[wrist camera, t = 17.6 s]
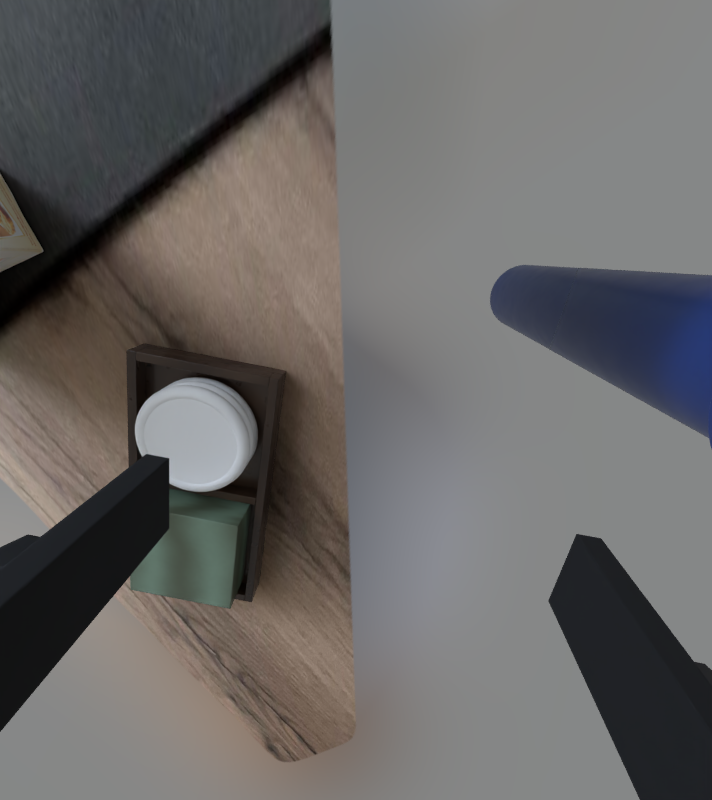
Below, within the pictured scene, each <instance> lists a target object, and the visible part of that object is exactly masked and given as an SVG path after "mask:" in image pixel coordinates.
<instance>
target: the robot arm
mask: <svg viewBox="0 0 712 800" xmlns="http://www.w3.org/2000/svg"><path fill="white" fill-rule="evenodd" d="M168 529H169V458H165V457H160V456H154V455H149V454H146V455H144V456H143V457H142V458H140V459H139V460H138V461H137V462H135V463H134V464H133V465H132V466H130V467H129V468H128V469H126V470H125V471H124V472H123V473H121V474H120V475H119V476H118V477H116V478H115V479H114V480H112V481H111V482H110V483H109V484H107V485H106V486H105V487H104V488H102V489H101V490H100V491H98V492H97V493H96V494H95V495H93V496H92V497H91V498H90V499H88V500H87V501H86V502H84V503H83V504H82V505H81V506H79V507H78V508H77V509H76V510H74V511H73V512H72V513H70V514H69V515H68V516H67V517H65V518H64V519H63V520H62V521H60V522H59V523H58V524H56V525H55V526H54V527H53V528H51V529H50V530H49V531H48V532H46V533H45V534H44V535H42V536H41V537H38V536H33V535H26V536H24V537H22V538H19V539H17V540H15V541H13V542H11V543H8V544H7V545H4V546H2V547H0V731H1V730H2V729H3V728H4V726H5V725H6V724H7V723H8V722H9V721H10V719H11V718H12V717H13V716H14V715H15V713H16V712H17V711H18V710H19V708H20V707H21V706H22V705H23V704H24V702H25V701H26V700H27V699H28V698H29V697H30V695H31V694H32V693H33V692H34V691H35V689H36V688H37V687H38V686H39V685H40V683H41V682H42V681H43V679H44V678H45V677H46V676H47V675H48V674H49V672H50V671H51V670H52V669H53V668H54V667H55V665H56V664H57V663H58V662H59V660H60V659H61V658H62V657H63V656H64V654H65V653H66V652H67V651H68V650H69V648H70V647H71V646H72V645H73V644H74V642H75V641H76V640H77V639H78V638H79V636H80V635H81V634H82V633H83V632H84V630H85V629H86V628H87V627H88V626H89V624H90V623H91V622H92V621H93V620H94V618H95V617H96V616H97V615H98V614H99V612H100V611H101V610H102V609H103V608H104V606H105V605H106V604H107V603H108V602H109V600H110V599H111V598H112V597H113V596H114V594H115V593H116V592H117V591H118V590H119V588H120V587H121V586H122V585H123V584H124V582H125V581H126V580H127V579H128V578H129V576H130V575H131V574H132V573H133V572H134V570H135V569H136V568H137V567H138V566H139V564H140V563H141V562H142V561H143V560H144V558H145V557H146V556H147V555H148V553H149V552H150V551H151V550H152V549H153V547H154V546H155V545H156V544H157V543H158V541H159V540H160V539H161V538H162V537H163V535H164V534H165V533H166V532H167V531H168ZM549 603H550V605H551V607H552V609H553V612H554V614H555V616H556V618H557V620H558V623H559V625H560V627H561V629H562V631H563V634H564V636H565V638H566V640H567V642H568V644H569V647H570V649H571V651H572V653H573V655H574V657H575V659H576V662H577V664H578V666H579V668H580V670H581V673H582V675H583V677H584V679H585V681H586V683H587V686H588V688H589V690H590V692H591V694H592V696H593V699H594V701H595V703H596V705H597V707H598V710H599V712H600V714H601V716H602V718H603V720H604V723H605V725H606V727H607V729H608V731H609V733H610V736H611V737H612V740H613V742H614V744H615V747H616V748H617V751H618V753H619V755H620V757H621V760H622V762H623V764H624V766H625V768H626V770H627V773H628V775H629V777H630V779H631V781H632V783H633V786H634V788H635V790H636V792H637V794H638V797H639V799H640V800H712V670H711V669H710V668H708V667H707V666H706V665H705V664H702V663H697V662H694V661H693V660H692V659H691V657H690V656H689V655H688V653H687V652H686V651H685V649H684V648H683V647H682V645H681V644H680V643H679V641H678V640H677V639H676V637H675V636H674V635H673V634H672V632H671V631H670V629H669V628H668V627H667V625H666V624H665V623H664V621H663V620H662V619H661V617H660V616H659V615H658V613H657V612H656V611H655V610H654V608H653V607H652V606H651V604H650V603H649V601H648V600H647V599H646V598H645V596H644V595H643V594H642V592H641V591H640V590H639V588H638V587H637V586H636V584H635V583H634V582H633V580H632V579H631V578H630V576H629V575H628V574H627V572H626V571H625V570H624V568H623V567H622V566H621V564H620V563H619V562H618V560H617V559H616V558H615V556H614V555H613V554H612V552H611V551H610V550H609V548H608V547H607V546H606V544H605V543H604V542H603V540H602V539H601V538H595V537H590V536H585V535H579V534H576V537H575V539H574V541H573V544H572V546H571V549H570V551H569V553H568V556H567V558H566V561H565V563H564V565H563V567H562V570H561V572H560V575H559V577H558V579H557V582H556V584H555V587H554V589H553V592H552V594H551V596H550V598H549Z"/></svg>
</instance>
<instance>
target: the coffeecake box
mask: <svg viewBox="0 0 712 800" xmlns="http://www.w3.org/2000/svg"><path fill="white" fill-rule="evenodd" d="M43 251H44V250H43V249H42V247H41V245H40V243H39V242H38V240H37V238H36V236H35V235H34V233H33V231H32V230H31V228H30V226H29V225H28V223H27V221H26V220H25V218H24V216H23V214H22V212H21V210H20V208H19V206H18V204H17V202H16V201H15V198H14V196H13V194H12V193H11V191H10V189H9V187H8V186H7V184H6V182H5V181H4V179H3V177H2V175H1V174H0V272H2V271H4V270H6V269H8V268H10V267H12V266H14V265H16V264H19V263H21V262H23V261H25V260H27V259H29V258H31V257H34V256H36V255H38V254H40V253H42V252H43Z"/></svg>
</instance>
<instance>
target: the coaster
mask: <svg viewBox="0 0 712 800" xmlns="http://www.w3.org/2000/svg"><path fill="white" fill-rule="evenodd" d="M135 438H136V443H137V446H138V449H139V451H140V454H141V456H142V457H143V456H144V455H146V454H149V455H154V456H160V457H165V458H169V483H170V484H171V485H173V486H176V487H178V488H181V489H184V490H188V491H194V492H208V491H213V490H217V489H220V488H222V487H225V486H227V485H228V484H230V483H231V482H233V481H234V480H236V479H237V478H238V477H239V476H240V475H241V473H242V472H243V471H244V469H245V467H246V466H247V464H248V463H249V461H250V460H251V458H252V457H253V455H254V453H255V450H256V447H257V441H258V428H257V423H256V420H255V417H254V414H253V412H252V410H251V408H250V407H249V405H248V404H247V402H246V401H245V400H244V399H243V398H242V397H241V396H240V395H239V394H238V393H237V392H236V391H235V390H233V389H232V388H231V387H229V386H227V385H225V384H224V383H221V382H219V381H216V380H213V379H209V378H203V377H192V378H185V379H181V380H178V381H175V382H173V383H171V384H169V385H168V386H166V387H165V388H163V389H161V390H160V391H158V392H156V393H155V394H153V395H152V396H150V397H149V398H148V399H147V400H146V401H145V403H144V404H143V406H142V407H141V409H140V411H139V413H138V415H137V418H136V423H135Z"/></svg>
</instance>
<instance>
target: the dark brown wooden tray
mask: <svg viewBox="0 0 712 800" xmlns="http://www.w3.org/2000/svg"><path fill="white" fill-rule="evenodd" d="M285 375H286V371H283V370H278V369H273V368H268V367H263V366H258V365H253V364H247V363H242V362H237V361H232V360H227V359H222V358H217V357H211V356H206V355H201V354H196V353H191V352H186V351H180V350H175V349H170V348H165V347H160V346H155V345H150V344H142V345H139V346H136V347H134V348H131V349H128V350H127V395H128V451H129V467H130V466H132V465H133V464H134V463H135V462H137V461H138V460H139V459H140V458H142V456H141V454H140V451H139V449H138V446H137V443H136V438H135V423H136V418H137V415H138V413H139V411H140V409H141V407H142V406H143V404H144V403H145V401H146V400H147V399H148V398H149V397H150V396H152V395H153V394H155V393H156V392H158V391H160V390H161V389H163V388H165V387H166V386H168V385H169V384H171V383H173V382H175V381H178V380H181V379H185V378H192V377H203V378H209V379H213V380H216V381H219V382H221V383H224V384H225V385H227V386H229V387H231V388H232V389H233V390H235V391H236V392H237V393H238V394H239V395H240V396H241V397H242V398H243V399H244V400H245V401H246V402H247V404H248V405H249V407H250V408H251V410H252V412H253V414H254V417H255V420H256V423H257V428H258V441H257V447H256V450H255V453H254V455H253V457H252V458H251V460H250V461H249V463H248V464H247V466H246V467H245V469H244V471H243V472H242V473H241V475H240V476H239V477H238V478H237V479H236V480H234V481H233V482H231V483H230V484H228V485H227V486H225V487H222V488H220V489H217V490H213V491H208V492H194V491H188V490H184V489H181V488H178V487H176V486H173V485H171V484H170V483H169V529H168V531H167V532H166V533H165V534H164V535H163V537H162V538H161V539H160V540H159V541H158V543H157V544H156V545H155V546H154V547H153V549H152V550H151V551H150V552H149V553H148V555H147V556H146V557H145V558H144V560H143V561H142V562H141V563H140V564H139V566H138V567H137V568H136V569H135V570H134V572H133V573H132V574H131V575H130V580H131V590H136V591H141V592H146V593H151V594H156V595H162V596H167V597H172V598H177V599H182V600H188V601H193V602H198V603H203V604H208V605H214V606H219V607H224V608H229V609H230V608H231V606H232V604H233V601H234V599H238V600H243V601H244V600H245V601H249V602H252V600H253V598H254V595H255V592H256V590H257V587H258V585H259V580H260V573H261V565H262V557H263V549H264V541H265V533H266V525H267V517H268V509H269V501H270V493H271V485H272V478H273V470H274V462H275V454H276V446H277V438H278V430H279V422H280V414H281V406H282V398H283V391H284V383H285Z"/></svg>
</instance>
